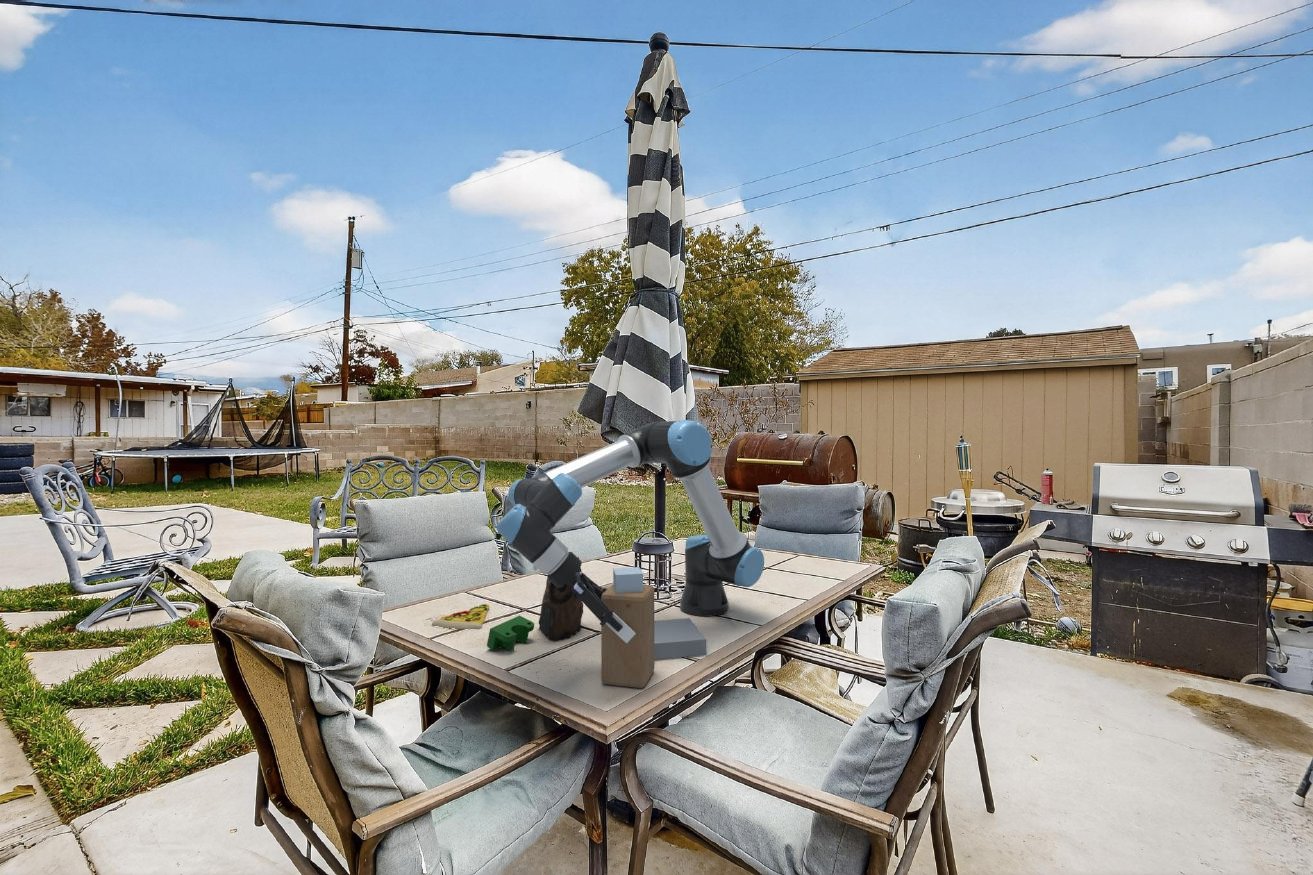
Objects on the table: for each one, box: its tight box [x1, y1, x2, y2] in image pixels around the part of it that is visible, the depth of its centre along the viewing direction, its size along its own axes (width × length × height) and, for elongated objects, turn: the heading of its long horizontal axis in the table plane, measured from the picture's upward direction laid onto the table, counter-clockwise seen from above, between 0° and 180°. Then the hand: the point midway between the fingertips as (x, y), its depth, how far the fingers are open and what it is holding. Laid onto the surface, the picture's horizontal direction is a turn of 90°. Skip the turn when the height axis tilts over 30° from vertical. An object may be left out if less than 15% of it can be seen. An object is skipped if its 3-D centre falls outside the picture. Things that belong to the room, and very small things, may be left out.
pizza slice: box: [431, 603, 490, 630], centre depth 163 cm, size 16×21×3 cm
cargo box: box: [612, 566, 644, 593], centre depth 121 cm, size 6×6×4 cm
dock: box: [654, 617, 707, 661], centre depth 139 cm, size 18×16×4 cm
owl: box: [538, 556, 584, 642], centre depth 149 cm, size 13×13×20 cm
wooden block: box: [600, 584, 656, 689], centre depth 121 cm, size 10×10×20 cm
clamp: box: [486, 615, 535, 652], centre depth 141 cm, size 12×6×9 cm, turn 148°
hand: (626, 627), depth 121 cm, fingers open, 13 cm apart
